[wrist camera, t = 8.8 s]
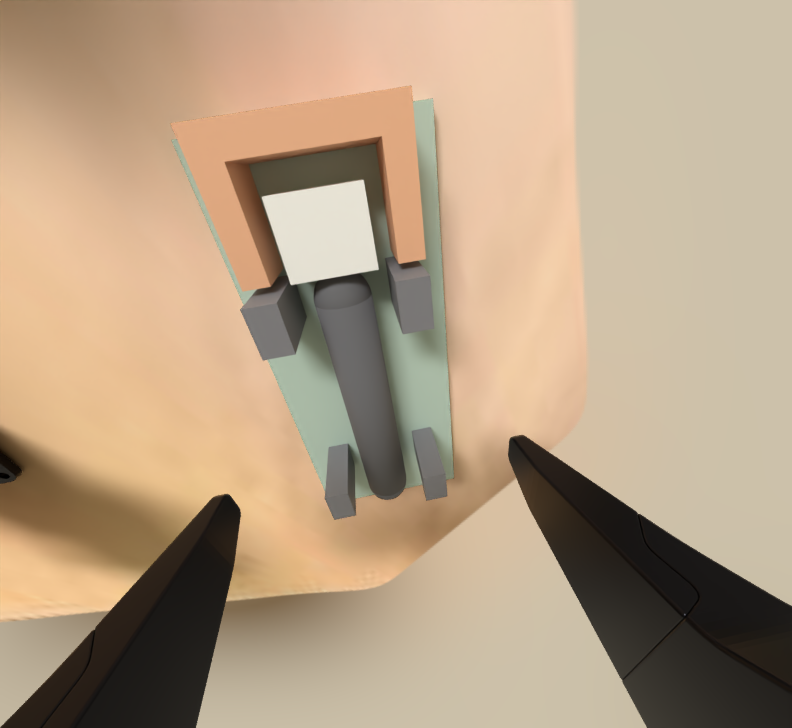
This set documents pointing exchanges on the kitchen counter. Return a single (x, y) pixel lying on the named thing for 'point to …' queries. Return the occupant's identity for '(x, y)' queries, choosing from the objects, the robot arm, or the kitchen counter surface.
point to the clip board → (390, 285)
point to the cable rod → (344, 311)
